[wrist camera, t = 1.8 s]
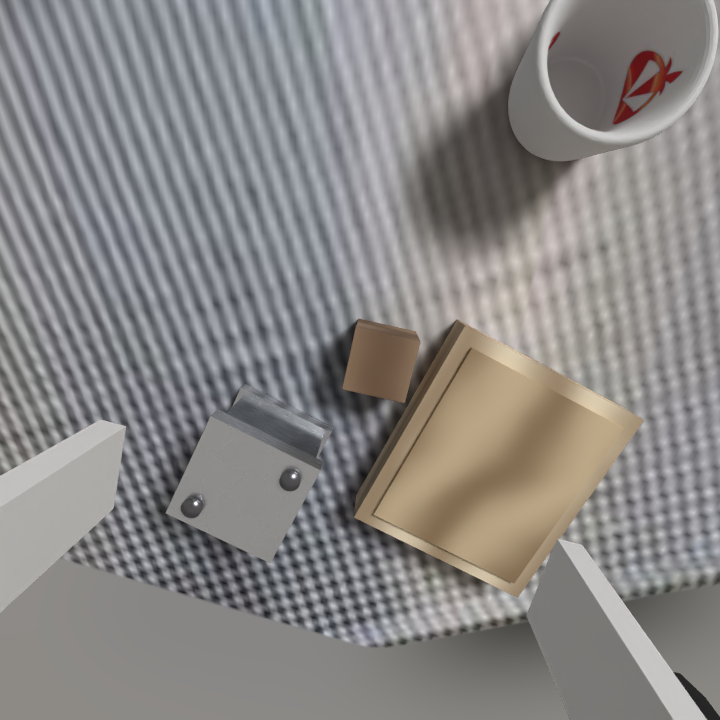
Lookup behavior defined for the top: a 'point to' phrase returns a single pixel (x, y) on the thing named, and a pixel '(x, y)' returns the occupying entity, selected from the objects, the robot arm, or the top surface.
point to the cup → (610, 74)
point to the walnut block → (381, 361)
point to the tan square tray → (492, 460)
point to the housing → (251, 472)
